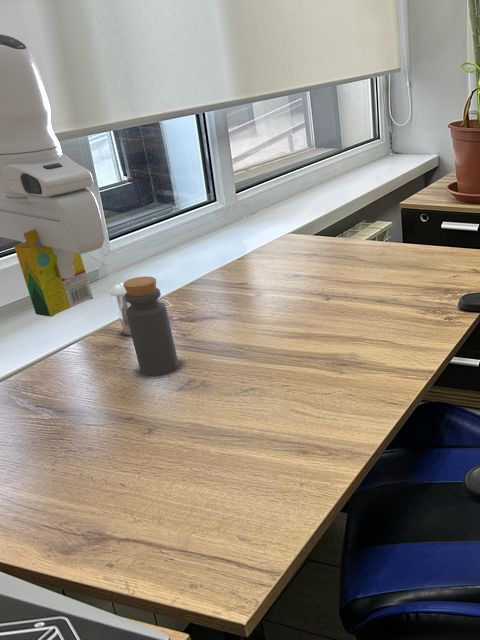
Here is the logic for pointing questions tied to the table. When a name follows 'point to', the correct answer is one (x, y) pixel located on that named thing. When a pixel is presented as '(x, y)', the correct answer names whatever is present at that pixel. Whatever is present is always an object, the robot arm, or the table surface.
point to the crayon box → (50, 278)
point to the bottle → (150, 327)
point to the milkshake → (121, 305)
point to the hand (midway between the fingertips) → (56, 274)
